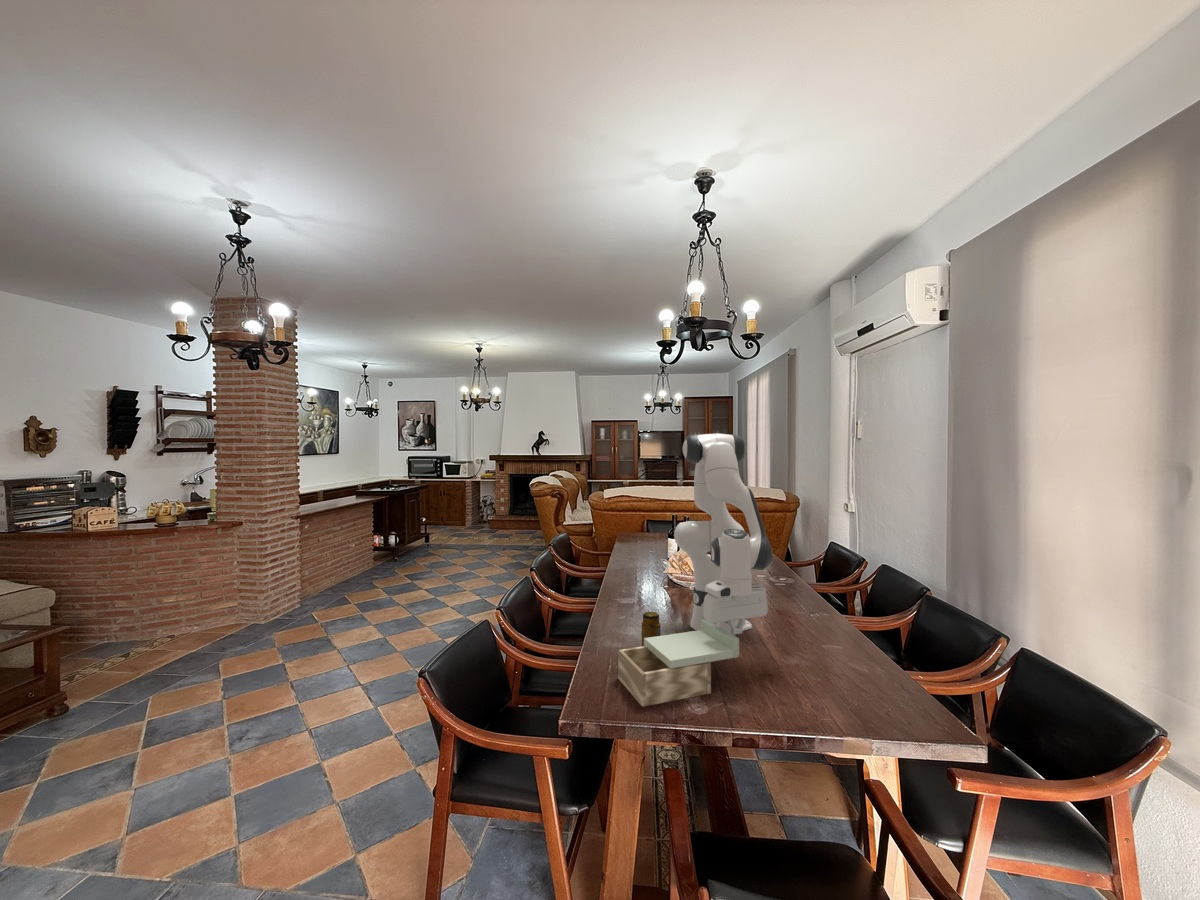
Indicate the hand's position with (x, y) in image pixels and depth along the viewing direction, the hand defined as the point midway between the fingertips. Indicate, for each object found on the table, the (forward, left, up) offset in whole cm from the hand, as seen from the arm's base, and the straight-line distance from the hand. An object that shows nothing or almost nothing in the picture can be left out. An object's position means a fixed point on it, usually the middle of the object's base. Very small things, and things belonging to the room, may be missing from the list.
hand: (736, 633), depth 136 cm
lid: (+15, 0, -3) cm, 16 cm away
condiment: (+17, -21, -12) cm, 29 cm away
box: (+24, 0, -11) cm, 26 cm away
